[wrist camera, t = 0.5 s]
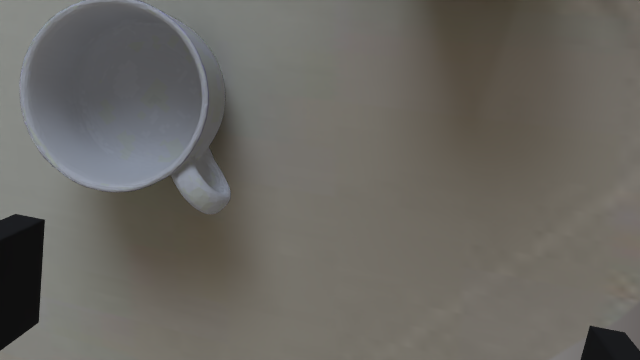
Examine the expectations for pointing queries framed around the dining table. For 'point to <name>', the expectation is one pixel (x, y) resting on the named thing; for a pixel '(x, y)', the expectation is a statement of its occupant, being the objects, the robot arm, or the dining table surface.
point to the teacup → (126, 100)
